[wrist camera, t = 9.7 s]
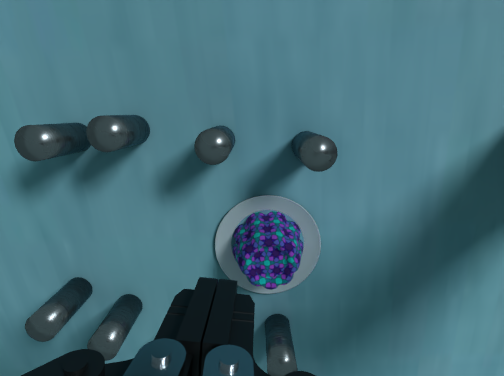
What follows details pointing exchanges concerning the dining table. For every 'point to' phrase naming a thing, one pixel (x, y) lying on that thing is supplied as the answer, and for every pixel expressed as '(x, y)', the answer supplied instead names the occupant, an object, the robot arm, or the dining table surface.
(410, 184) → the dining table surface
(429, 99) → the dining table surface
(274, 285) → the pudding
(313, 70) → the dining table surface
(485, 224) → the dining table surface
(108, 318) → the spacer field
